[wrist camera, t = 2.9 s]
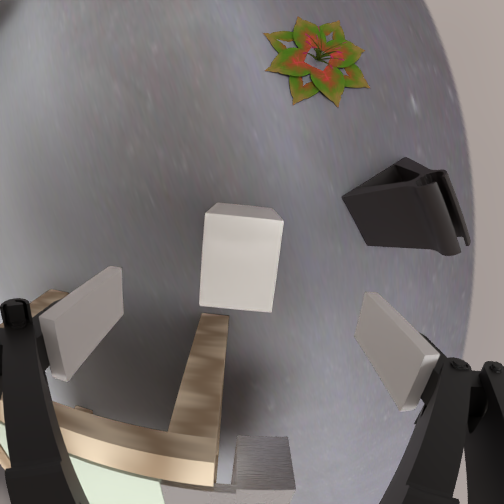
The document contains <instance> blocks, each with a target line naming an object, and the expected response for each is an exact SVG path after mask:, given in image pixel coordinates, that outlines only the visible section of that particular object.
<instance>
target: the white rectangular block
mask: <svg viewBox="0 0 504 504" xmlns="http://www.w3.org/2000/svg"><path fill="white" fill-rule="evenodd" d="M283 223H284V221H283V219H282V218H281V217H280V216H279V215H278V214H277V213H276V212H275V210H274V209H273V208H267V207H257V206H248V205H238V204H228V203H216V204H215V205H214V206H213V207H211V208H210V209H209V210H208V211H207V212H206V213H205V222H204V235H203V248H202V263H201V280H200V299H199V306H208V307H217V308H227V309H237V310H248V311H260V312H272V305H273V298H274V291H275V284H276V277H277V269H278V262H279V254H280V247H281V239H282V231H283Z"/></svg>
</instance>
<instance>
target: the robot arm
mask: <svg viewBox="0 0 504 504" xmlns="http://www.w3.org/2000/svg"><path fill="white" fill-rule="evenodd" d="M0 310H1V315H2V320H3V324H4V328H0V400H1V396H2V392H3V409H4V421H5V430H6V438H7V445H8V452H9V458H10V463H11V468H6V470H5V478H6V484H7V488H8V493H9V496H10V501H11V504H90V503H89V501H88V499H87V497H86V495H85V493H84V491H83V488H82V486H81V484H80V482H79V479H78V477H77V475H76V472H75V470H74V467H73V465H72V462H71V459H70V457H69V454H68V451H67V448H66V446H65V443H64V440H63V437H62V434H61V430H60V427H59V424H58V420H57V417H56V413H55V410H54V406H53V402H52V398H51V394H50V390H49V386H48V381H47V377H46V373H45V370H46V369H47V368H48V366H49V365H50V369H51V373H52V376H53V377H54V378H56V379H59V380H62V381H65V382H68V381H69V380H70V379H71V377H72V376H73V375H74V374H75V372H76V371H77V370H78V369H79V367H80V366H81V365H82V364H83V362H84V361H85V360H86V359H87V357H88V356H89V355H90V354H91V353H92V351H93V350H94V349H95V348H96V346H97V345H98V344H99V343H100V342H101V340H102V339H103V338H104V337H105V336H106V334H107V333H108V332H109V331H110V330H111V328H112V327H113V326H114V325H115V324H116V323H117V321H118V320H119V319H120V318H121V317H122V316H123V314H124V311H123V291H122V268H121V267H113V266H109V267H107V268H106V269H104V270H103V271H101V272H100V273H98V274H97V275H96V276H94V277H93V278H91V279H90V280H88V281H87V282H85V283H84V284H83V285H81V286H80V287H78V288H77V289H76V290H74V291H73V292H71V293H70V294H69V295H67V296H66V297H64V298H62V299H59V300H57V301H54V302H53V303H51V304H50V305H49V306H48V307H46V308H45V309H43V311H40V312H39V313H38V314H36V315H35V316H34V317H32V315H31V309H30V303H29V301H27V300H25V299H21V298H16V299H10V300H7V301H5V302H3V303H2V304H1V306H0ZM354 337H355V339H356V340H357V342H358V343H359V345H360V347H361V348H362V350H363V351H364V353H365V355H366V356H367V358H368V359H369V361H370V363H371V364H372V366H373V367H374V369H375V371H376V372H377V374H378V376H379V377H380V379H381V381H382V382H383V384H384V386H385V387H386V389H387V390H388V392H389V394H390V395H391V397H392V399H393V401H394V402H395V404H396V406H397V407H398V409H399V411H400V412H402V411H409V410H415V408H416V406H417V404H418V402H419V400H420V398H421V399H422V400H423V402H424V403H425V404H424V406H423V408H422V410H421V412H420V414H419V415H418V417H417V419H416V421H415V423H414V424H416V426H415V429H414V431H413V434H412V436H411V439H410V441H409V443H408V446H407V448H406V451H405V453H404V455H403V457H402V460H401V462H400V464H399V466H398V468H397V470H396V472H395V474H394V477H393V479H392V481H391V482H390V484H389V486H388V488H387V490H386V492H385V494H384V496H383V498H382V499H381V501H380V503H379V504H459V503H460V502H459V500H458V499H456V498H452V497H453V492H454V489H455V485H456V480H457V477H458V472H459V468H460V463H461V458H462V453H463V448H464V451H465V461H466V472H467V487H468V488H467V489H468V504H504V366H502V364H501V363H498V362H493V361H487V362H485V364H484V365H483V368H482V370H481V371H472V370H471V367H470V365H469V364H468V363H467V362H465V361H464V360H461V359H459V358H454V357H453V358H447V357H446V356H445V355H444V354H443V353H442V352H441V351H440V350H439V349H438V348H437V347H435V345H434V344H433V343H431V341H430V340H429V339H428V338H427V337H426V336H424V335H423V334H421V333H419V332H418V331H417V330H416V329H415V328H414V327H413V326H412V325H411V324H410V323H409V322H408V321H406V320H405V319H404V318H403V317H402V316H401V315H400V314H399V313H398V312H397V311H396V310H395V309H394V308H393V307H392V306H391V305H390V304H389V303H388V302H387V301H386V300H385V299H384V298H383V297H381V296H380V295H379V294H378V293H375V292H365V295H364V299H363V303H362V308H361V312H360V316H359V320H358V323H357V327H356V331H355V335H354Z"/></svg>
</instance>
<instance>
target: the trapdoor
mask: <svg viewBox="0 0 504 504" xmlns="http://www.w3.org/2000/svg"><path fill="white" fill-rule="evenodd" d="M0 444H1V445H2V447H3V448H4V450H5V452H6V453H7V455H8V456H9V452H8V445H7V438H6V430H5V423H4V422H2V421H0ZM68 454H69V457H70V459H71V462H72V465H73V467H74V470H75V472H76V475H77V477H78V479H79V482H80V484H81V486H82V488H83V491H84V493H85V495H86V497H87V499H88V501H89V503H90V504H289V503H290V501H291V499H292V497H293V495H294V493H295V491H296V486H295V480H294V473H293V467H292V460H291V454H290V447H289V441H288V437H264V436H243V435H237V442H236V449H235V457H234V465H233V472H232V480H231V484H218V483H214V484H213V487H212V486H203V485H195V484H188V483H181V482H175V481H169V480H163V479H158V478H153V477H149V476H144V475H140V474H135V473H131V472H127V471H124V470H120V469H116V468H113V467H109V466H106V465H103V464H99V463H96V462H93V461H90V460H87V459H84V458H81V457H79V456H76V455H73V454H71V453H68Z"/></svg>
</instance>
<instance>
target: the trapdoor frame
mask: <svg viewBox="0 0 504 504" xmlns="http://www.w3.org/2000/svg"><path fill="white" fill-rule="evenodd" d="M67 295H69V293H68V292H63V291H58V290H53V289H50V290H49V291H47V292H46V293H44V294H43V295H41V296H40V297H38V298H37V299H35V300H34V301H32V302H31V303H30V309H31V315H32V317H34V316H35V315H36V314H38V313H39V312H40V311H43V309H45V308H46V307H48V306H49V305H50V304H51V303H53V302H54V301H57V300H59V299H62V298H64V297H66V296H67ZM228 323H229V316H226V315H217V314H207V313H202V314H201V317H200V321H199V324H198V327H197V331H196V334H195V337H194V341H193V344H192V347H191V351H190V354H189V358H188V361H187V364H186V368H185V371H184V375H183V378H182V382H181V385H180V389H179V392H178V396H177V399H176V403H175V407H174V410H173V414H172V417H171V421H170V425H169V428H168V432H166V431H160V430H155V429H150V428H145V427H140V426H136V425H131V424H127V423H123V422H119V421H115V420H111V419H107V418H104V417H100V416H96V415H93V412H92V410H89V409H86V408H82V407H79V406H75V408H71V407H68V406H65V405H62V404H59V403H57V402H54V401H52V402H53V406H54V410H55V413H56V417H57V420H58V424H59V427H60V430H61V434H62V437H63V440H64V443H65V446H66V448H67V451H68V453H71V454H73V455H76V456H79V457H81V458H84V459H87V460H90V461H93V462H96V463H99V464H103V465H106V466H109V467H113V468H116V469H120V470H124V471H127V472H131V473H135V474H140V475H144V476H149V477H153V478H158V479H163V480H169V481H175V482H181V483H188V484H195V485H203V486H212V487H213V484H214V483H216V479H217V466H218V453H219V440H220V423H221V409H222V395H223V382H224V369H225V357H226V345H227V335H228ZM0 328H4V324H3V323H2V324H0ZM0 421H2V422H4V423H5V421H4V409H3V392H2V396H1V400H0ZM0 464H1V465H2V466H3V468H4V469H5V470H6V468H11V463H10V458H9V456H8V455H7V453H6V452H5V450H4V448H3V447H2V445H1V444H0Z"/></svg>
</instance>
